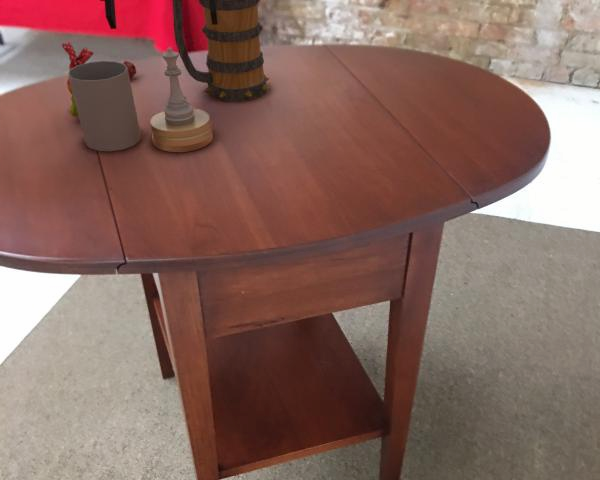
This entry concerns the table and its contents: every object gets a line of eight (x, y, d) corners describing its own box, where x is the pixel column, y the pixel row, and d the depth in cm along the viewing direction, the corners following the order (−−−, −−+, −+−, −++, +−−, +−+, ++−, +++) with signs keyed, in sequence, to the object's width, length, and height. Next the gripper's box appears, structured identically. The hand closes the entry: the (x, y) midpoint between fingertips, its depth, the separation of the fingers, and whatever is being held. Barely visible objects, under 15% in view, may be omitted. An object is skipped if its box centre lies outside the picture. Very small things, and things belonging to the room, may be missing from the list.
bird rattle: (66, 126, 108) (76, 120, 100) (40, 53, 103) (49, 41, 95) (101, 118, 110) (113, 111, 102) (77, 47, 105) (89, 34, 98)
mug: (285, 95, 110) (281, -43, 96) (192, 114, 105) (172, -29, 91) (256, 73, 118) (248, -57, 104) (168, 89, 113) (146, -45, 99)
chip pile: (139, 143, 97) (135, 123, 95) (181, 122, 102) (178, 103, 100) (185, 158, 93) (182, 137, 91) (226, 135, 98) (224, 116, 96)
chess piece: (192, 125, 94) (182, 51, 87) (163, 125, 94) (150, 52, 87) (196, 113, 97) (186, 41, 90) (167, 114, 97) (156, 42, 90)
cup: (120, 154, 94) (104, 83, 87) (75, 146, 97) (56, 76, 90) (150, 132, 100) (138, 64, 93) (107, 125, 102) (91, 58, 95)
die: (137, 75, 119) (134, 57, 117) (137, 80, 117) (133, 63, 114) (121, 76, 118) (118, 58, 116) (121, 81, 116) (117, 64, 114)
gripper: (245, -118, 89) (256, 33, 89) (64, -113, 87) (76, 40, 87) (243, -166, 81) (256, -1, 81) (45, -161, 80) (58, 6, 80)
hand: (162, 21), depth 84 cm, fingers open, 13 cm apart
